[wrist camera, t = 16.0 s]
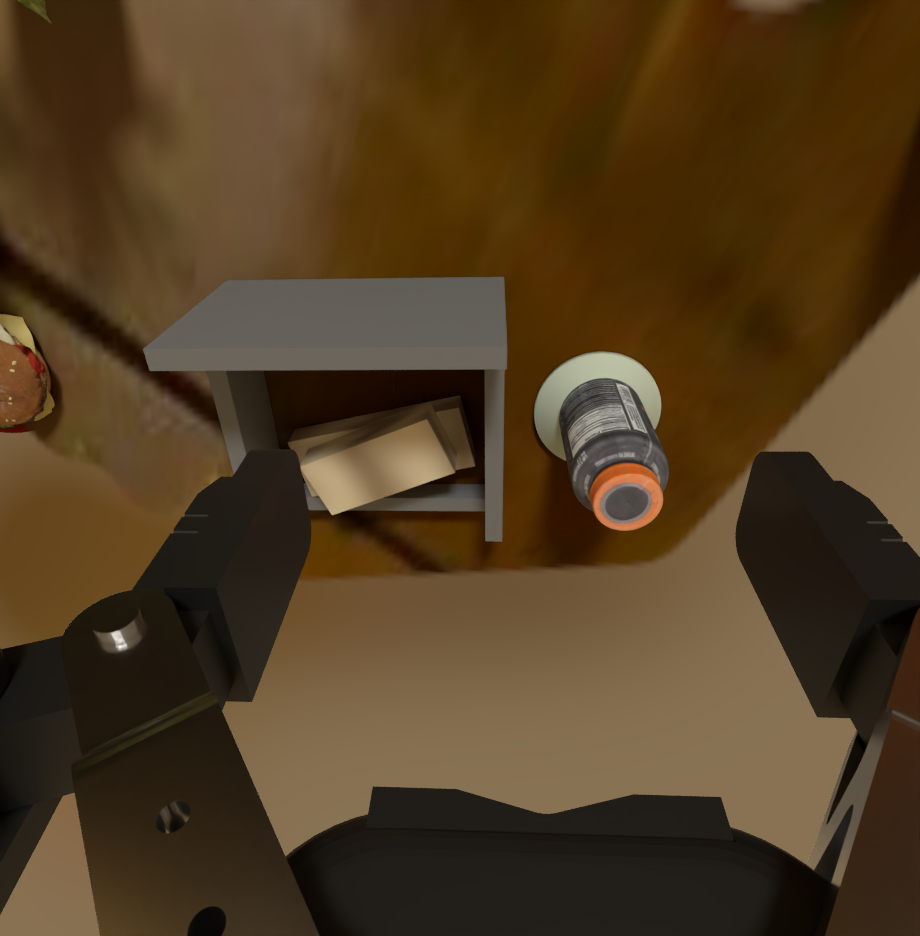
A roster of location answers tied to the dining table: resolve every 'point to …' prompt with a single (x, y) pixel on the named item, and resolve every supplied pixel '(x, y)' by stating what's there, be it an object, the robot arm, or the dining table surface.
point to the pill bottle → (613, 454)
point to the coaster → (583, 371)
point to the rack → (347, 358)
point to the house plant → (36, 7)
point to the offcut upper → (380, 459)
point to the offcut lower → (445, 409)
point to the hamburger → (21, 378)
